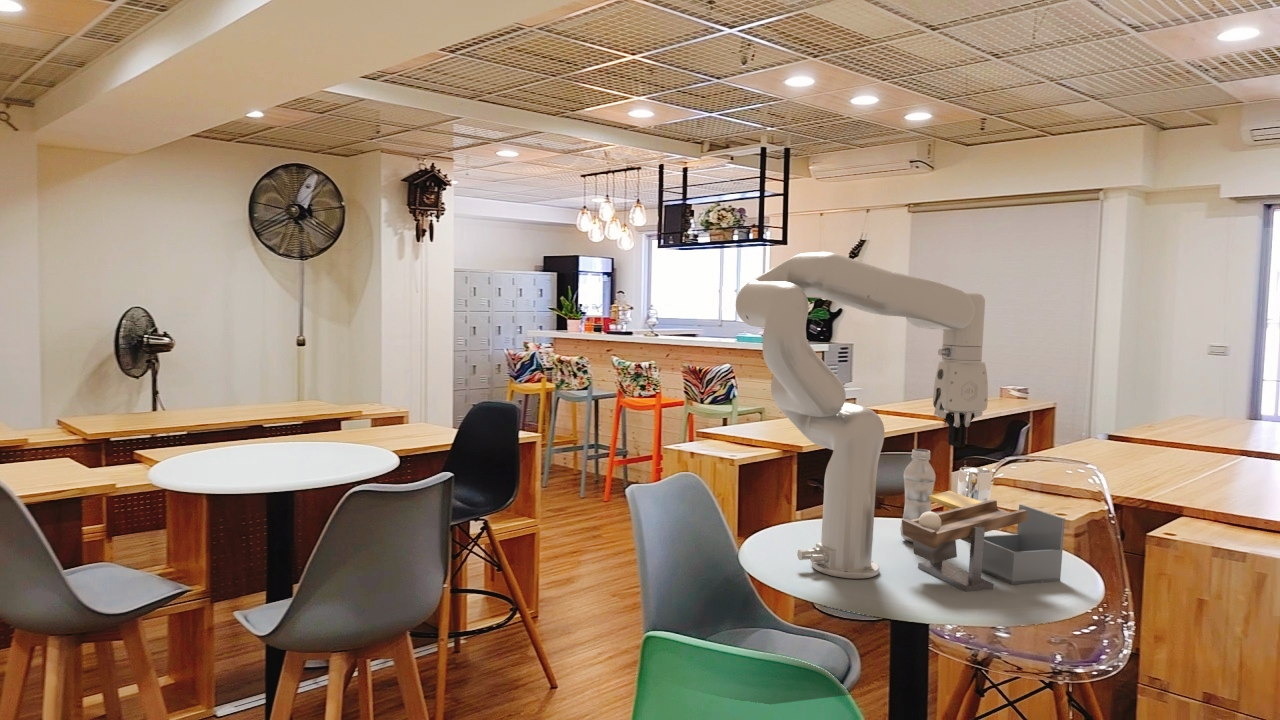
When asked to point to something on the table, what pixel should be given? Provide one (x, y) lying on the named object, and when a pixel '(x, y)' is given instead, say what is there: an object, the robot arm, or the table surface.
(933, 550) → the lever chute
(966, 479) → the beer glass
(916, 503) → the plastic bottle
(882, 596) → the table surface
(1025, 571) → the cup
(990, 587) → the pivot stand
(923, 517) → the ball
